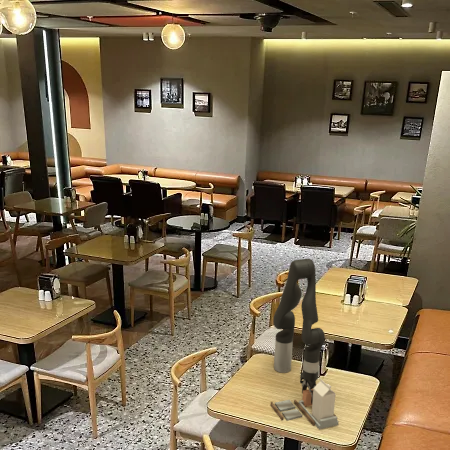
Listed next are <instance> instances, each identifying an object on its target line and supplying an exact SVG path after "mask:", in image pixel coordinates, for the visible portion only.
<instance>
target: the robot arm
mask: <svg viewBox="0 0 450 450" xmlns="http://www.w3.org/2000/svg"><path fill="white" fill-rule="evenodd" d="M316 276H317V275H316V267H315V262H314V260H313V259H312V258H301V259H294V260H292V261H291V263H290V264H289V269H288V274H287V278H286V282H285V286H284V289H283V291H282V294H281V298H280V301H279V303H278V306H277V308H276V310H275V312H274V315H273V320H272V321H273V322H272V323H273V326H274V328H275V329H277V330H280V331H278V332H276V334H275V339H274V340H275V342H274V354H273V358H274V359H273V368H274V370H275V371H276V372H278V373H281V374H283V373H284V374H286V373H289V372H291V370H292V362H293V361H292V358H293V343H294V342H293V341H294V334H295V326H296V325H295V324H296V317H295V316H296V315H295V314H294V312H293V310H295V308H297V306H298V305H299V304H300V300H301V298H302V293H303V292H302V289H301V287H300V285H299V284H298V281H299V280H303V279H304V280H305V279H306V280H307V281H306V282H307V286H306V289H305V293H304V295H303V298H302V301H301V315H302V328H301V341H302V342H303V343H304V345H306V347H305V348H304V353H303V361H302V372H300V376H299V383H300V384H301V394H302V395H303V390H308V389H309V392H310V393H311V396H312V397H311V404H312V403H313V390H311V389H314V387H315V386H316V385H317V381H318V379H319V374H320V354H321V352H322V351H321V350H322V348H323V346H324V342H325V336H326V335H325V332H324V330H323V329H322V328H321V327H313V325H314V324H316V323H318V322H319V316H318V315H319V314H318V308H317V299H316V298H317V294H316V293H317V289H316V288H317V287H316V285H317V284H316V281H317V280H316ZM312 327H313V328H312Z"/></svg>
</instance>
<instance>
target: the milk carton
mask: <svg viewBox="0 0 450 450" xmlns="http://www.w3.org/2000/svg"><path fill="white" fill-rule="evenodd" d="M336 395H337V394H336V392H335V391H334V390H332V385H331V384H329V383H326V382H325V381H324V380H323V379H322V378H320V381H318V382H317V383H316V386H315V387H314V388H313V403H312V406H311V415H312V416H313V417H314V418H315V419H316V421H317V422H318V423H320V420H321V419H325V418H329V417H333V416H334V414H335V406H336V405H335V403H336Z"/></svg>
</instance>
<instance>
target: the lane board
mask: <svg viewBox="0 0 450 450" xmlns="http://www.w3.org/2000/svg"><path fill="white" fill-rule="evenodd" d="M298 402H299V401H298V400H296V399H294V400H293V402H292V401H291V399H285V400H282V401H276V402H274V403H273V401H270V405H269V406H271V407H270V408H272V410H273V411H274V412H275V414H277V416H278V417H279V420H281V421H284V419H285V420H286V421H291V420H297V419H299V418H303V417H305V418H306V420H307V421H309V423H310V424H311V426H313V427H316V425H315V422H314V420H313V419H312V418H311V417H310V416H309V415H308V413H307V412H306V411H305V410H304V409H303V408H302V406H301V405H300V404H299V403H298ZM296 407H297V408H296ZM334 416H337V414H335V413H334Z"/></svg>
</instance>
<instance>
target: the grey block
mask: <svg viewBox="0 0 450 450" xmlns="http://www.w3.org/2000/svg"><path fill="white" fill-rule="evenodd" d="M313 389H314V388H313ZM313 389H311V390H313ZM311 397H312V396H311V393H310V392H309V388H307V390H303V394H302V399H301V400H299V401H297V402H298V403H299V404H300V405H301V406H302V408H303V409H304V410H305V411H306V412H307V413H308V415H309V416H310V417H311V418H312V419H313V420H314V422H315V427H316V428H317V429H318V430H323V429H326V428H331V427H336V426H339V422H340V421H339V420H338V416H337V415H336V416H333V417H329V418H325V419H321V420H320V423H318V422H317V421H316V419H315V418H314V417H313V416H312V413H310V412H309V410H308V409H307V407H312V404H311Z"/></svg>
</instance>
